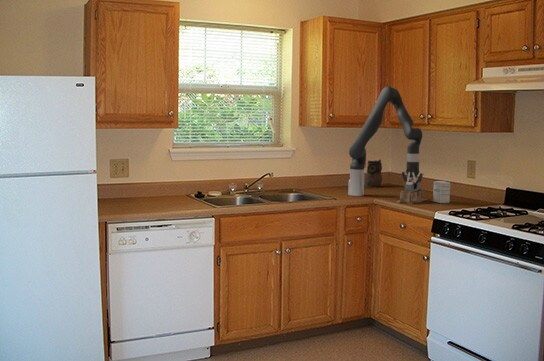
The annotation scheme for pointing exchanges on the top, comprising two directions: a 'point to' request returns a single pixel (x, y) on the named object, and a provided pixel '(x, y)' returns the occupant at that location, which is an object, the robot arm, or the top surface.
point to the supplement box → (441, 192)
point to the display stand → (411, 197)
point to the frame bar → (411, 187)
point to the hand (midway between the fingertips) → (412, 188)
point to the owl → (373, 174)
